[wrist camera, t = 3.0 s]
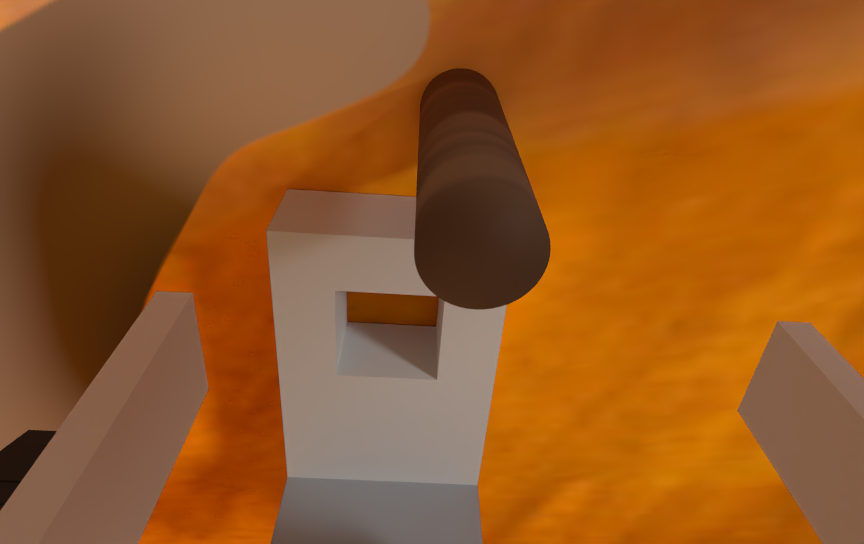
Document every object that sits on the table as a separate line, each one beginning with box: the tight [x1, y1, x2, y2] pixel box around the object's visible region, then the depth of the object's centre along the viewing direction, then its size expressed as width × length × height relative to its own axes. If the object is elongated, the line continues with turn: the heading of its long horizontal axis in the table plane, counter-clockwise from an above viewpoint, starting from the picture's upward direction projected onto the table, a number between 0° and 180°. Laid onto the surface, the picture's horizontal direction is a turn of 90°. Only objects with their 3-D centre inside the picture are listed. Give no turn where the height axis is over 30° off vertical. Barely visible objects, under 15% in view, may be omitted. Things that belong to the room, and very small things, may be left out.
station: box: [266, 189, 507, 544], centre depth 31 cm, size 19×12×15 cm, turn 176°
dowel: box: [414, 69, 550, 310], centre depth 24 cm, size 4×4×15 cm
